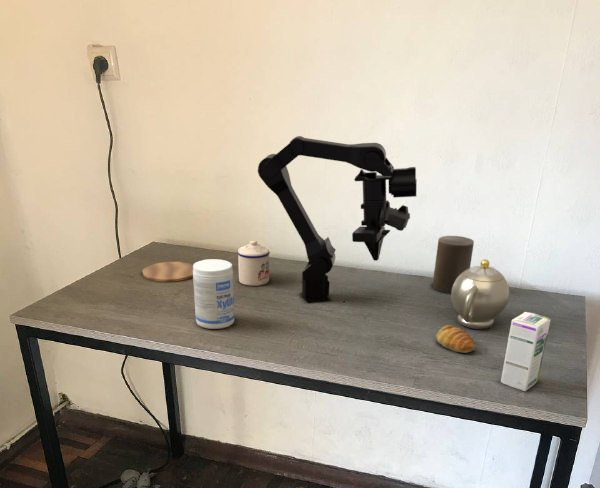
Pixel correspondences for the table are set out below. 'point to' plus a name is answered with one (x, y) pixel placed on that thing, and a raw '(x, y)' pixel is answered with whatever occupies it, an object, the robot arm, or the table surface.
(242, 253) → the teacup with lid
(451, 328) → the pastry
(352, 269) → the table surface
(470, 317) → the teapot
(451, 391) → the table surface
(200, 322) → the supplement tub
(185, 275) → the wooden trivet
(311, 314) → the table surface
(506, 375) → the syrup box
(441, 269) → the pillar candle
